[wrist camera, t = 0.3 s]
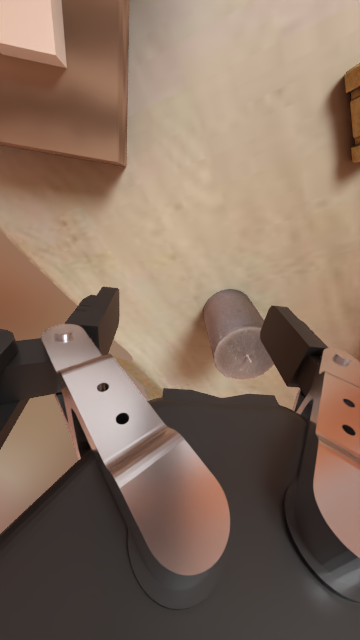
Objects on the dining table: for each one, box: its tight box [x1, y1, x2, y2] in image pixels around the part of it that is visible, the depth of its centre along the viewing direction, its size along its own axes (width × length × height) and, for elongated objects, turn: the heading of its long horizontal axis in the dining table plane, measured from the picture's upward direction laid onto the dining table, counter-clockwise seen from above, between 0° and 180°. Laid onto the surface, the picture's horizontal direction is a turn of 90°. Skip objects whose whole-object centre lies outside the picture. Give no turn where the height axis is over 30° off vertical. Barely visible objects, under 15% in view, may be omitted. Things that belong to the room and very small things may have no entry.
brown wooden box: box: [0, 0, 129, 166], centre depth 23 cm, size 20×18×6 cm
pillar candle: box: [203, 289, 274, 379], centre depth 37 cm, size 10×10×15 cm
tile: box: [0, 0, 67, 68], centre depth 19 cm, size 6×6×2 cm
